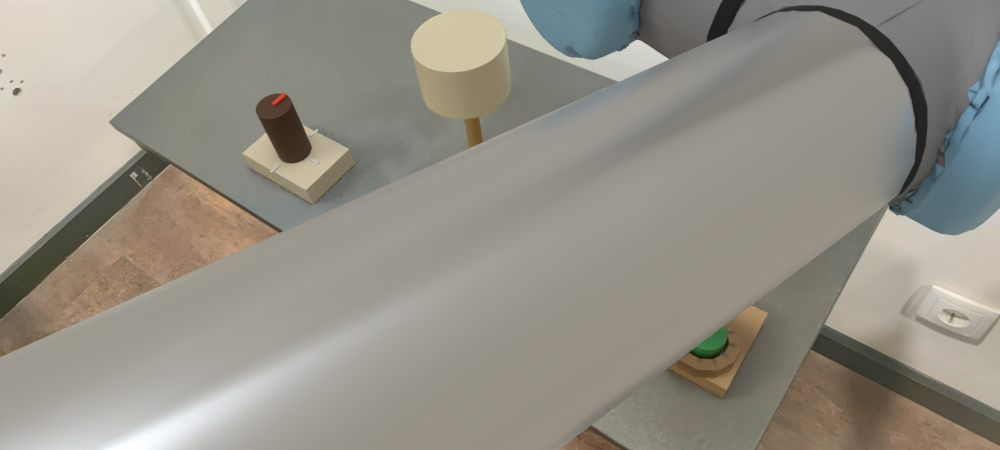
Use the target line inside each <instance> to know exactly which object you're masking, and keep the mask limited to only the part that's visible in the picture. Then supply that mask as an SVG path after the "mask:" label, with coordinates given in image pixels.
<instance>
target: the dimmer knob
mask: <svg viewBox="0 0 1000 450" xmlns="http://www.w3.org/2000/svg"><path fill="white" fill-rule="evenodd" d="M255 113H256V116H257V119H258V120H259V121H260V124H261V125H262V128H263V129H264V131H265V133H267V135H268V137H269V139H270V141H271V143H272V145H273V147H274V149H275V151H276V153H277V155H278V157H279V158H280V160H282V161H283V162H286V163H296V162H299V161H302V160H303V159H305V158H306V157H307V156H308V155H309V154H310V152H311V148H312V146H311V143H310V141H309V138H308V136H307V134H306V132H305V130H304V127H303V125H304V124H303V122H302V121H301V118H300V116H299V114H298V112H297V109H296V108H295V105H294V103H293V101H292V98H291V97H290V96H289V95H288V94H287V93H286V92H282V93H279V92H278V93H272V94H269V95H266V96H264V97H263V98H261V99H260V101H258V103H257V104H256V107H255Z"/></svg>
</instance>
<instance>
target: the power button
mask: <svg viewBox="0 0 1000 450" xmlns="http://www.w3.org/2000/svg"><path fill="white" fill-rule="evenodd" d="M727 338H728V330H727V327H726V325H725V326H723V327H722V328H721V329H719V330H718V331H717V332H715V333H714V334H713V335H711V336H710V337H709V338H707V339H706V340H705V341H703V342H702V343H701V344H699V345H698V346H697V347H695V348H694V349H693V350H691V351H690V352H692V353H693V354H695V355H697V356H699V357H703V358H710V357H714V356H717V355H718V354H720V353H721V352H722V350H723V349H724V346H725V344H726V341H727Z"/></svg>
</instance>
